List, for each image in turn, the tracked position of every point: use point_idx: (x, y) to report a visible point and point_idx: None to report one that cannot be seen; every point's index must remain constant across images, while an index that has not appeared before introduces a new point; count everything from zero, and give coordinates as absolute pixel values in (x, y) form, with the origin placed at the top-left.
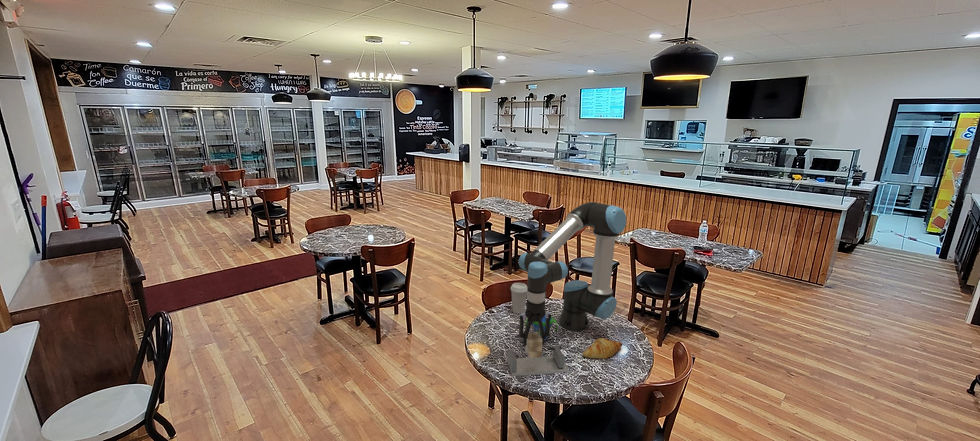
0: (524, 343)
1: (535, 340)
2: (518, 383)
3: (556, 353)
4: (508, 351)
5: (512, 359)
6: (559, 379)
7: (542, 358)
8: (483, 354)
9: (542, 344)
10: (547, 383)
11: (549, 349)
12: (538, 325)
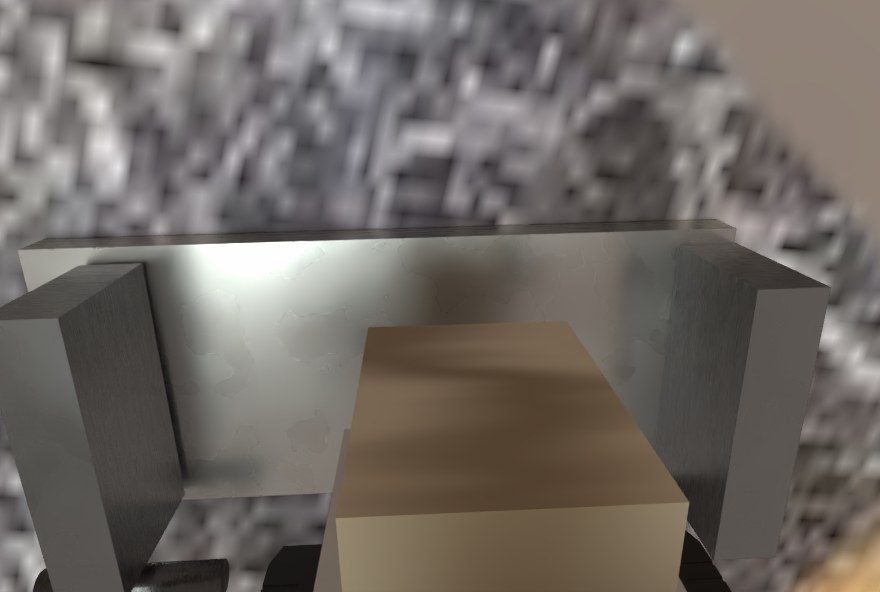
0: (695, 562)
1: (514, 583)
2: (683, 79)
3: (109, 450)
4: (776, 518)
5: (806, 332)
6: (177, 105)
7: (313, 464)
8: (862, 574)
9: (310, 546)
10: (342, 40)
11: (201, 565)
12: None
